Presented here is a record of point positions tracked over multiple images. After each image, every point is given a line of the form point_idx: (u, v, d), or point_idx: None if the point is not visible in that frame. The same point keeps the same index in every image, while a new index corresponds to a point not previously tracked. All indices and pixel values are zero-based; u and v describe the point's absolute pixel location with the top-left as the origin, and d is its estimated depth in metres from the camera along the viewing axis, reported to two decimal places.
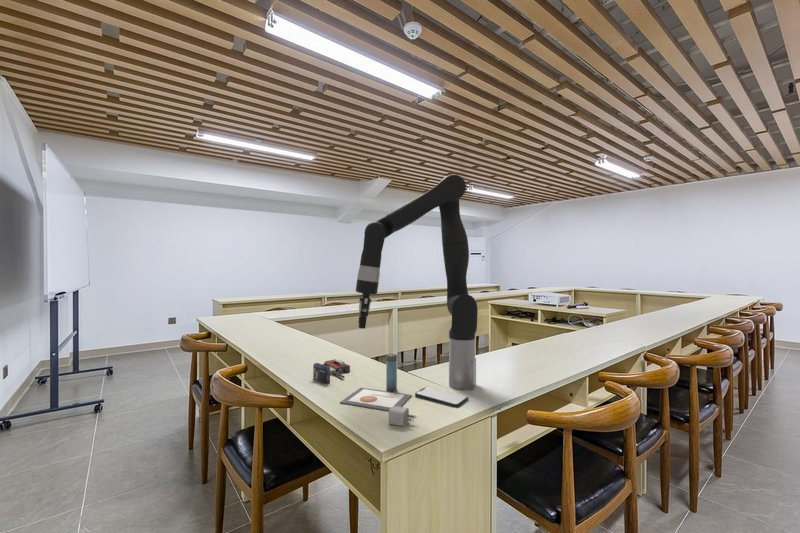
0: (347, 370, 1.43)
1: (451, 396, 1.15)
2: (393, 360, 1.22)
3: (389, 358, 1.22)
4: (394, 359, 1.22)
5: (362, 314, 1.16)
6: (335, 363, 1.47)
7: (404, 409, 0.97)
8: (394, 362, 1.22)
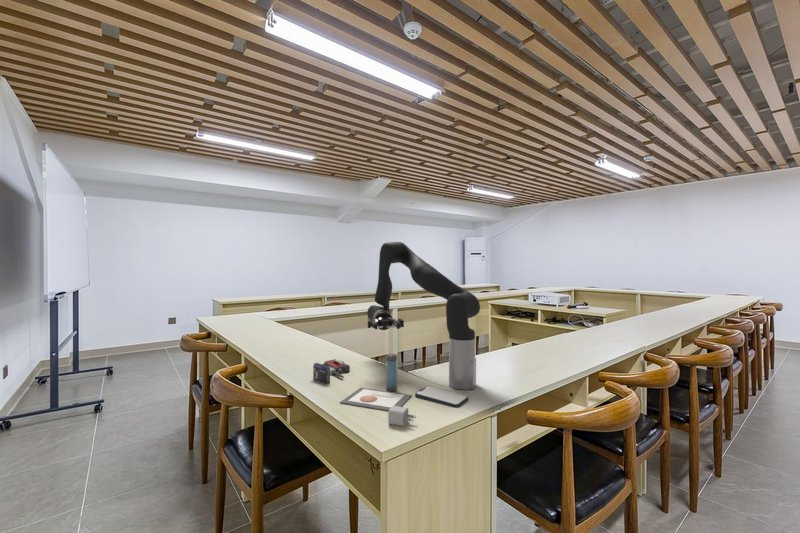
0: (347, 370, 1.43)
1: (451, 396, 1.15)
2: (393, 360, 1.22)
3: (389, 358, 1.22)
4: (394, 359, 1.22)
5: (368, 325, 1.38)
6: (335, 363, 1.47)
7: (404, 409, 0.97)
8: (394, 362, 1.22)
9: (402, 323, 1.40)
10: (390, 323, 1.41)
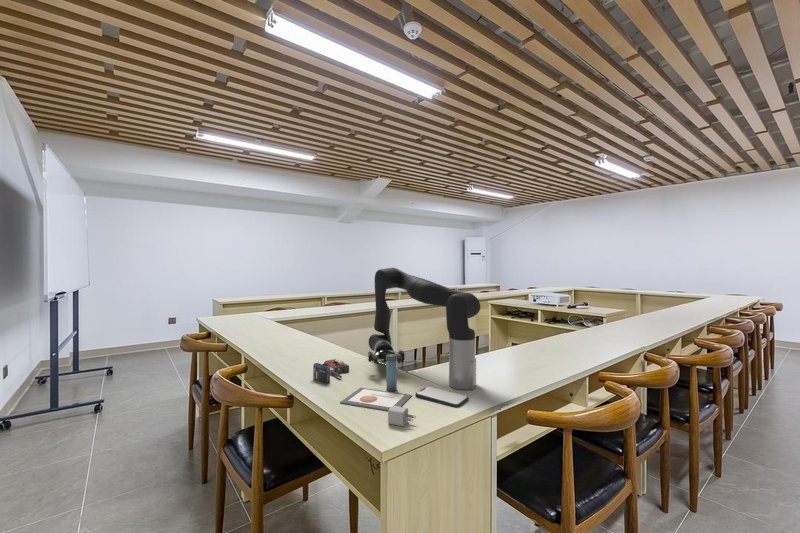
0: (346, 370, 1.43)
1: (451, 396, 1.15)
2: (393, 360, 1.22)
3: (389, 358, 1.22)
4: (394, 359, 1.22)
5: (368, 359, 1.38)
6: (335, 363, 1.47)
7: (403, 409, 0.97)
8: (394, 362, 1.22)
9: (403, 356, 1.39)
10: None
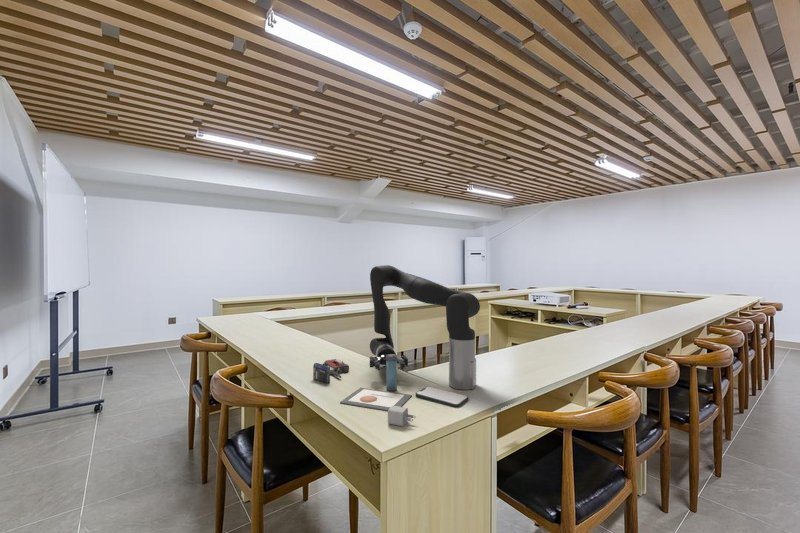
0: (346, 370, 1.43)
1: (451, 396, 1.15)
2: (393, 360, 1.22)
3: (389, 358, 1.22)
4: (394, 359, 1.22)
5: (370, 365, 1.30)
6: (335, 363, 1.47)
7: (403, 409, 0.97)
8: (394, 362, 1.22)
9: (406, 362, 1.32)
10: None
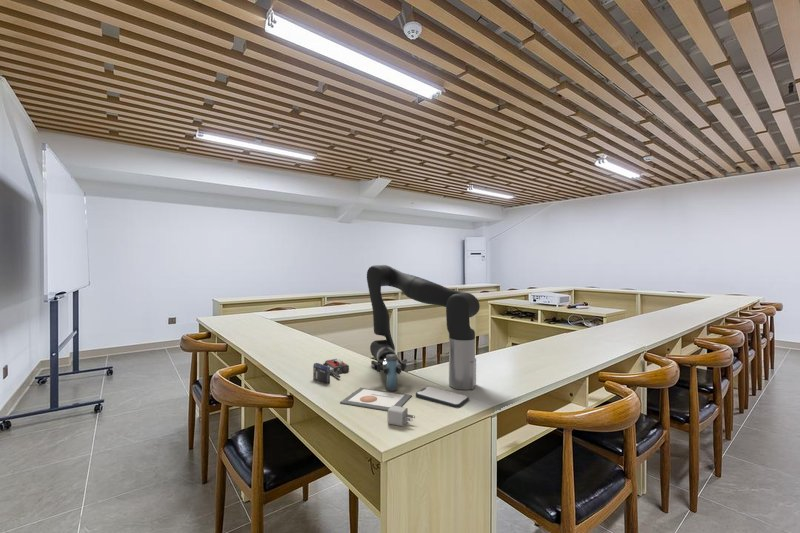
0: (345, 370, 1.43)
1: (452, 396, 1.15)
2: (393, 360, 1.22)
3: (389, 358, 1.22)
4: (394, 359, 1.22)
5: (377, 369, 1.25)
6: (335, 362, 1.47)
7: (403, 409, 0.97)
8: (394, 362, 1.22)
9: (402, 366, 1.26)
10: None
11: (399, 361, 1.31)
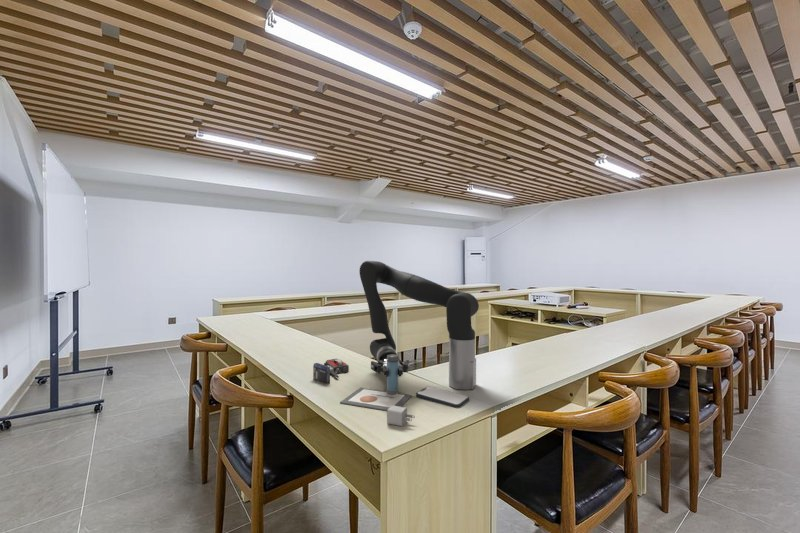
0: (345, 370, 1.43)
1: (452, 396, 1.15)
2: (395, 361, 1.13)
3: (390, 359, 1.13)
4: (395, 360, 1.13)
5: (377, 371, 1.16)
6: (335, 362, 1.47)
7: (402, 409, 0.98)
8: (395, 363, 1.13)
9: (404, 368, 1.17)
10: None
11: (401, 362, 1.22)
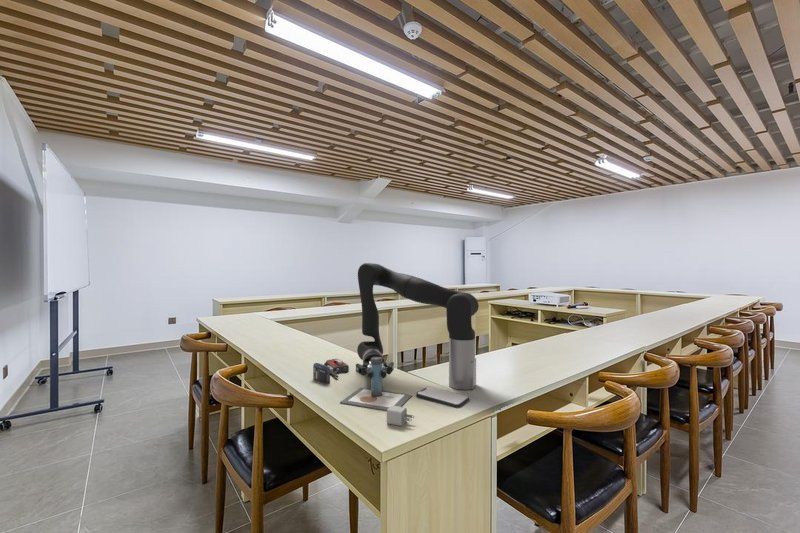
0: (345, 370, 1.43)
1: (452, 396, 1.15)
2: (378, 363, 1.15)
3: (374, 361, 1.15)
4: (379, 362, 1.15)
5: (361, 373, 1.18)
6: (335, 362, 1.47)
7: (402, 409, 0.98)
8: (379, 365, 1.15)
9: (388, 370, 1.19)
10: None
11: (385, 364, 1.24)
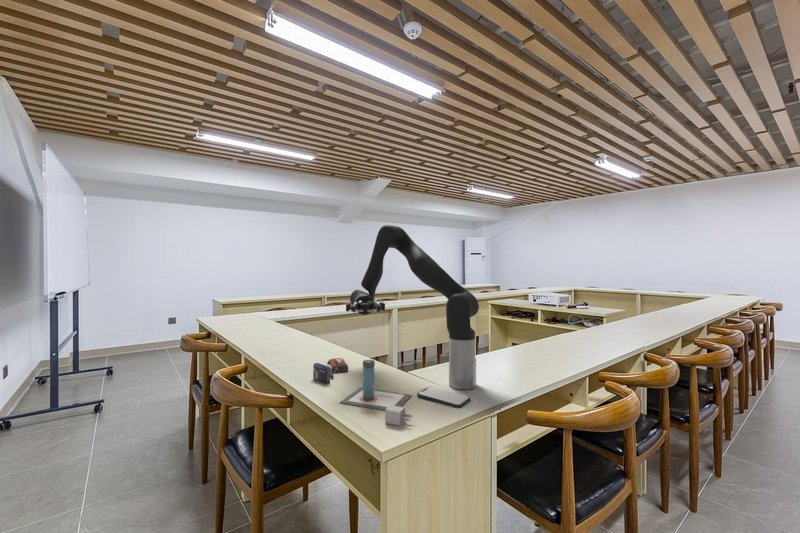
0: (344, 370, 1.43)
1: (453, 396, 1.15)
2: (370, 367, 1.12)
3: (365, 364, 1.12)
4: (371, 366, 1.12)
5: (346, 309, 1.28)
6: (336, 362, 1.48)
7: (401, 408, 0.98)
8: (371, 369, 1.12)
9: (383, 306, 1.30)
10: (370, 306, 1.31)
11: None
